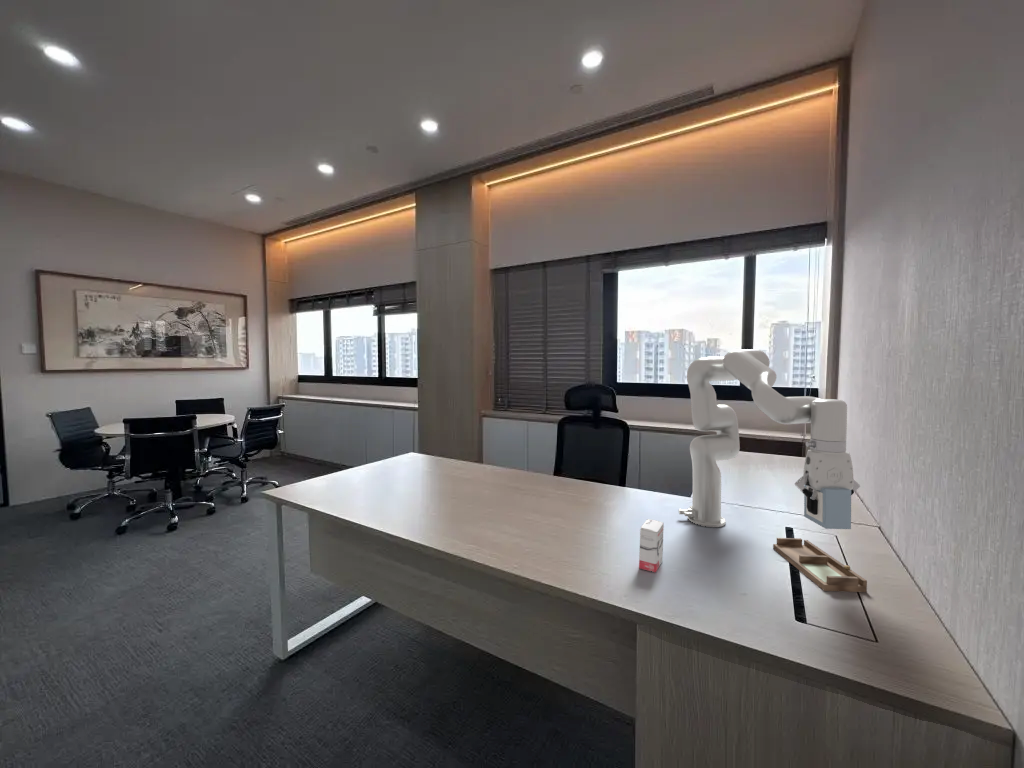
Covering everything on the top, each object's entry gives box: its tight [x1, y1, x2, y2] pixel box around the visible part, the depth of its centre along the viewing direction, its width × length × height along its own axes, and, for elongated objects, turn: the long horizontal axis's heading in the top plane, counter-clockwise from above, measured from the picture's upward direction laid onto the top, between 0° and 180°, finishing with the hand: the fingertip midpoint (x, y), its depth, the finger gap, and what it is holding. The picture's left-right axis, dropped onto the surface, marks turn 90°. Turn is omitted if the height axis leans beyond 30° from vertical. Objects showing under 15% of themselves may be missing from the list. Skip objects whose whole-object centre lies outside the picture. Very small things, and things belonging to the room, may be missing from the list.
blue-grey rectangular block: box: [803, 484, 852, 530], centre depth 110 cm, size 6×9×10 cm
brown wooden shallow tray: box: [772, 537, 868, 593], centre depth 116 cm, size 10×24×4 cm, turn 175°
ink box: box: [638, 519, 665, 574], centre depth 119 cm, size 9×5×12 cm, turn 148°
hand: (826, 512), depth 110 cm, fingers closed on blue-grey rectangular block, 6 cm apart
